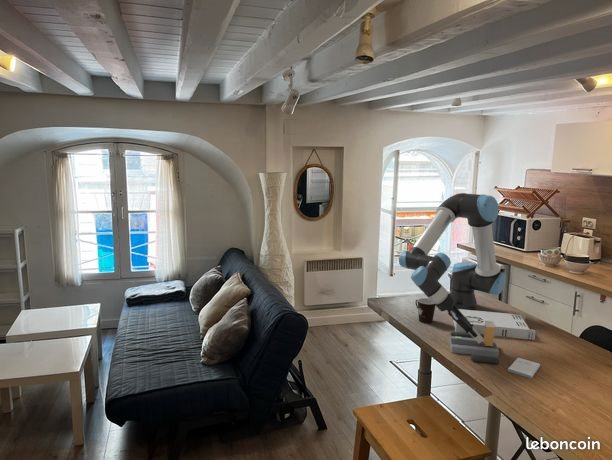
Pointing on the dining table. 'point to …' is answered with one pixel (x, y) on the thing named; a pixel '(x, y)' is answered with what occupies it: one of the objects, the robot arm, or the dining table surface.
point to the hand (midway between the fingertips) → (481, 341)
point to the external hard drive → (524, 367)
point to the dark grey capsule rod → (484, 359)
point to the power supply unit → (498, 324)
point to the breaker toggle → (489, 333)
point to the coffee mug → (425, 310)
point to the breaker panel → (472, 347)
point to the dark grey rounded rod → (463, 334)
